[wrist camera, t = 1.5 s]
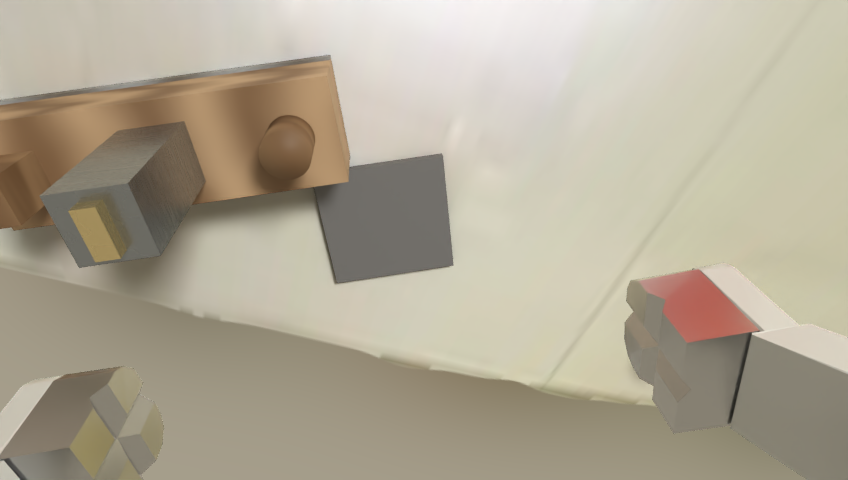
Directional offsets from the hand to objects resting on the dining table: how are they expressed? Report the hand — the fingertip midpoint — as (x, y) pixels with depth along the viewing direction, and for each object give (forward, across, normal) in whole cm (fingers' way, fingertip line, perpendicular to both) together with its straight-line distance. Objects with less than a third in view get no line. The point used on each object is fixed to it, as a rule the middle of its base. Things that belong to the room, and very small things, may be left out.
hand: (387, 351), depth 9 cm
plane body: (+30, +14, +4) cm, 34 cm away
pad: (+31, +2, +14) cm, 34 cm away
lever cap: (+25, +14, +4) cm, 29 cm away
